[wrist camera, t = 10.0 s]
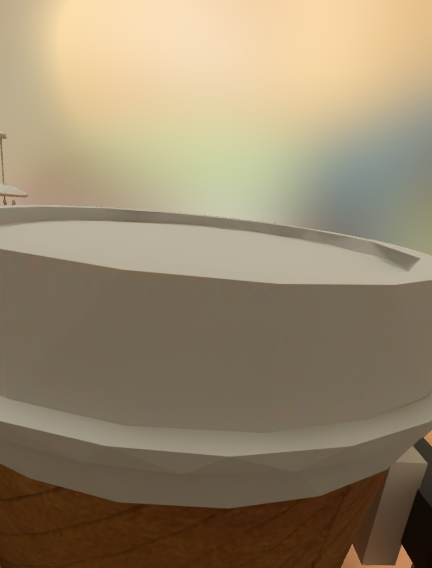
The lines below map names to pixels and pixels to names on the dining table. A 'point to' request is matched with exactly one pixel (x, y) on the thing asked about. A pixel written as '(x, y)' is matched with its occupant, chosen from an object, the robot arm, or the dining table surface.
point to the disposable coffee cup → (201, 387)
